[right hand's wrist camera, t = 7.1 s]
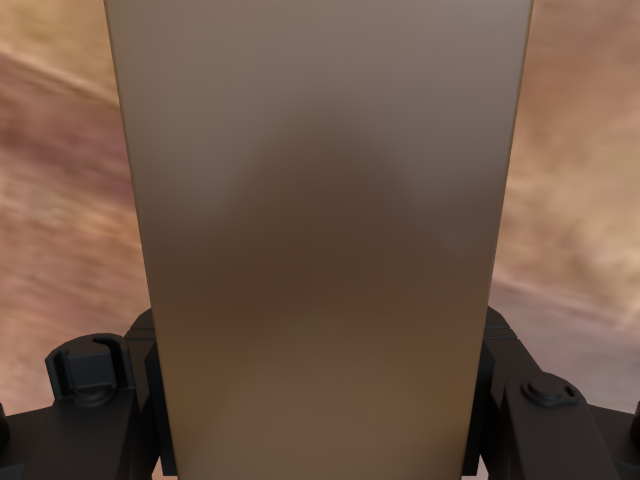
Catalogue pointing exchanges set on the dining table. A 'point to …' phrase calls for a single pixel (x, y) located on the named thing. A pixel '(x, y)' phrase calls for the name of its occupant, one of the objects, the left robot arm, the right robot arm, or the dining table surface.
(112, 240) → the dining table surface
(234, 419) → the bar
